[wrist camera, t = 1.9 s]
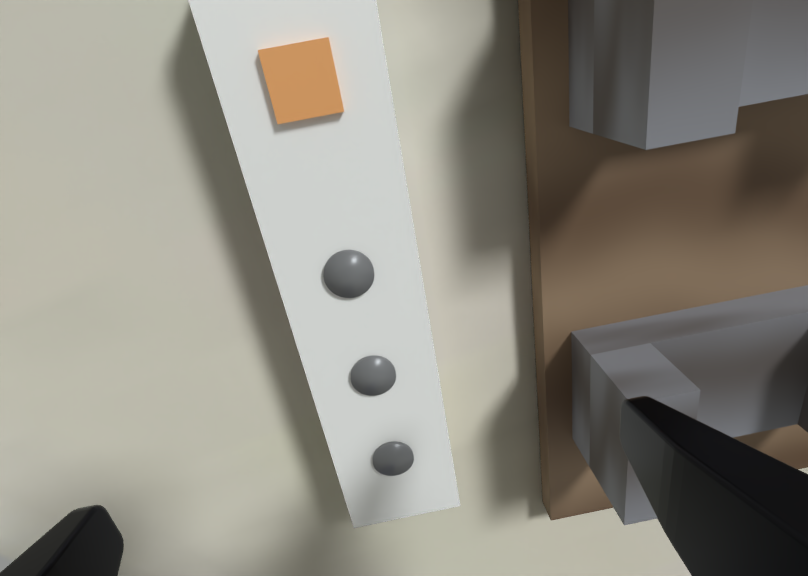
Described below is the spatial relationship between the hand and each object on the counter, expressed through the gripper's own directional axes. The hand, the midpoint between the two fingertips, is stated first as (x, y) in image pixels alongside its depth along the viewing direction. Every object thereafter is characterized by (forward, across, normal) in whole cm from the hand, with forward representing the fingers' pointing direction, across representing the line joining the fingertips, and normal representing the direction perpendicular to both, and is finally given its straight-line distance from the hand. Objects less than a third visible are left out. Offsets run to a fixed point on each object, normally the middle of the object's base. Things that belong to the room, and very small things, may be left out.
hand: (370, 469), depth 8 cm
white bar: (+9, 0, 0) cm, 9 cm away
